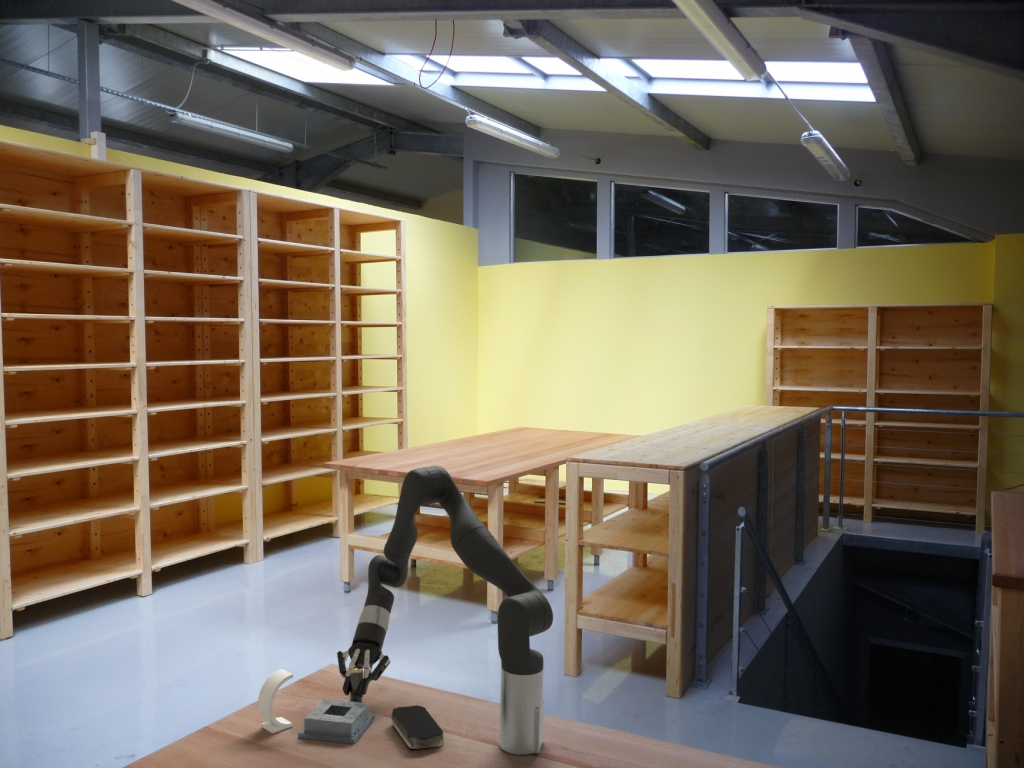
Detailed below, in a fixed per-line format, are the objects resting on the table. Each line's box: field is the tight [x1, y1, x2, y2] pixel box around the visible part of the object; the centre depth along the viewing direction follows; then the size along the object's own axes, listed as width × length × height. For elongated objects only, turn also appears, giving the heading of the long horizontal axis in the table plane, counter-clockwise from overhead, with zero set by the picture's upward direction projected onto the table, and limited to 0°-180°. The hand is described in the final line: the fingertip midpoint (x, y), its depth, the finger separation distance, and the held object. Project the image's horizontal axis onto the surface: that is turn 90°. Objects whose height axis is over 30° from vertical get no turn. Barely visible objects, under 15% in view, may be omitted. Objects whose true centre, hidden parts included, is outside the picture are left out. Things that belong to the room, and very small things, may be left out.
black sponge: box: [391, 704, 445, 750], centre depth 184 cm, size 16×8×4 cm, turn 24°
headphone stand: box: [257, 668, 294, 734], centre depth 186 cm, size 5×6×12 cm
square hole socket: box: [297, 698, 376, 745], centre depth 186 cm, size 13×13×4 cm
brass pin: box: [349, 666, 364, 703], centre depth 198 cm, size 3×3×10 cm
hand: (353, 694), depth 196 cm, fingers closed on brass pin, 3 cm apart
